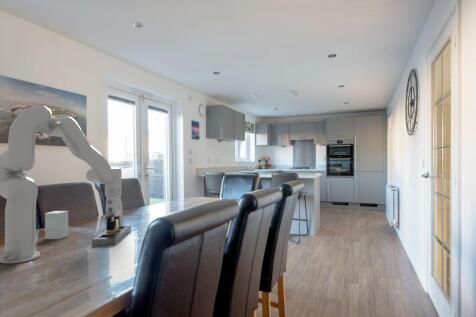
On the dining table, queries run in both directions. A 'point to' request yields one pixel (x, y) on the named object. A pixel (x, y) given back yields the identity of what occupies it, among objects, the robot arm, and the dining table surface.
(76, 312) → the dining table surface
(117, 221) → the brass block
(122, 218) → the skincare box
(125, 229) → the grey compartment tray
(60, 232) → the supplement box
